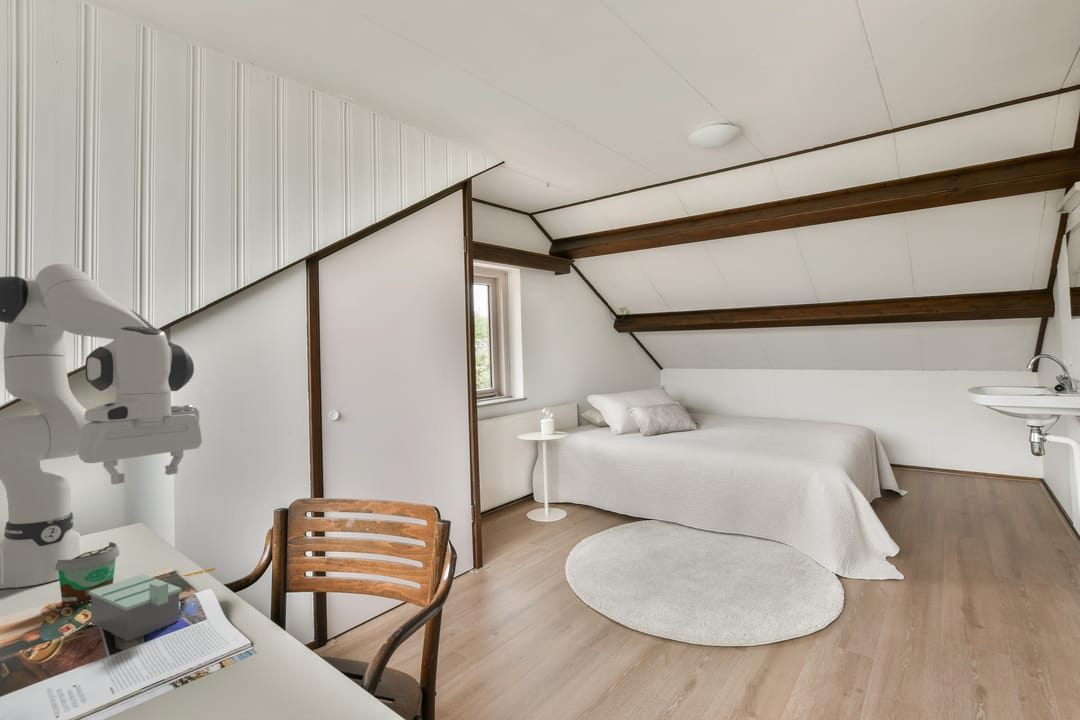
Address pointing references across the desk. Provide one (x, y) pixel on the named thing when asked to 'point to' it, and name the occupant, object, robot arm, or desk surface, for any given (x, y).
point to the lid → (136, 592)
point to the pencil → (200, 572)
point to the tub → (134, 617)
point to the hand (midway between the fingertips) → (145, 478)
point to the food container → (86, 573)
